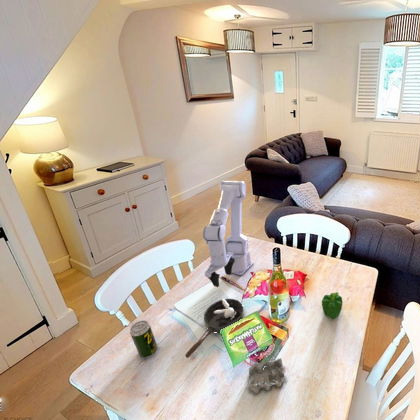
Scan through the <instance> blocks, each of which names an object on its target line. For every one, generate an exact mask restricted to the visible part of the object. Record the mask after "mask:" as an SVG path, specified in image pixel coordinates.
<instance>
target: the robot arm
mask: <svg viewBox="0 0 420 420" xmlns="http://www.w3.org/2000/svg"><path fill="white" fill-rule="evenodd" d="M219 192H220V199H219V203H218V206H217V208H215V209H214V210H213V213H212V214H211V216H210V217H211V218H210V220H209V223H208V225H206V226H204V228H203V231H202V239H203V240H204V241H205V244H206V245H207V247H208V252H209V255H210V256H209V257H210V260H209V263H210V264H209V265H208V267H207V269H206V270H205V271H204V276H205V277H206V278H207V279H208V280H209V281H210V282H211V284H212V285H213V286H214V287H216V288H219V287H220V275H221V274H220V273H217V271H218V270H219V271H220V269H222V268H224V272H225V275H227V276H231V275H232V274H235V275H238V276H242V275H244V273H246V272H247V270H249V269H250V267H252V265H253V262H252V261H251V260H252V259H251V253H250V251H249V239H248V237H246V236H245V235H244V234H243V233H242V231H243V228H242V227H243V225H242V224H243V200H245V199H246V197H247V185H246V183H245V181H243V180H241V181H240V180H224V179H223V180H221V181H220V183H219ZM229 208H230V235H228V236H227V237H226V230H227V227H226V225H227V221H228V218H229V212H228V210H229Z"/></svg>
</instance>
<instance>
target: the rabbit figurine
mask: <svg viewBox="0 0 420 420" xmlns="http://www.w3.org/2000/svg"><path fill="white" fill-rule="evenodd" d="M224 299H225V298H222V299H221V300H222V302H223V305H224V306H225V307H226V308H228V307H229V305H228V303H227V302H226V301H225V300H224ZM224 312H225V313H224ZM214 313H215V314H221V313H224V315H223V316H224V317H225V318H228V317H232V318H234V316H235V314H236V312H235V314H234V310H233V309H232V308H228V309H224V310H216V311H214ZM232 315H234V316H232ZM232 318H231V320H232Z"/></svg>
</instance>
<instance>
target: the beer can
mask: <svg viewBox="0 0 420 420" xmlns="http://www.w3.org/2000/svg"><path fill="white" fill-rule="evenodd" d="M129 334H130V336H131V339H132V342H133V343H134V346H135V349H136V351H137V353H138V356H139V357H140V358H142V359H148V358H151V357H152V356H153V355H155V354H156V352H157V350H158V344H157V340H156V337H155V335H154V332H153V329H152V328H151V324H150V322H148V320H139V321H137V322H135V323H133V324H132V325H131V326H130V328H129Z"/></svg>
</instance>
